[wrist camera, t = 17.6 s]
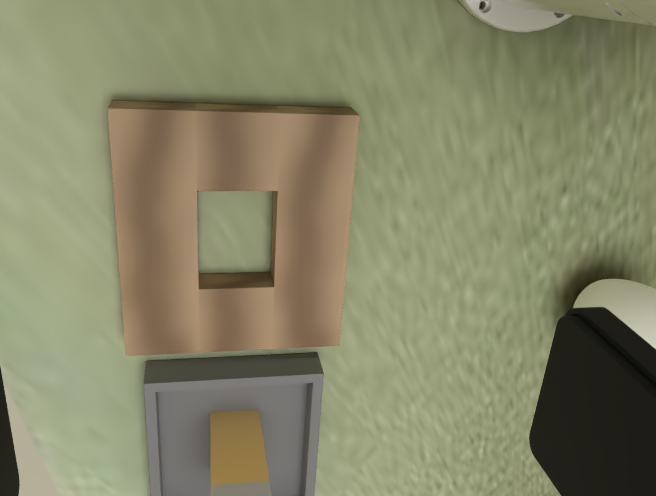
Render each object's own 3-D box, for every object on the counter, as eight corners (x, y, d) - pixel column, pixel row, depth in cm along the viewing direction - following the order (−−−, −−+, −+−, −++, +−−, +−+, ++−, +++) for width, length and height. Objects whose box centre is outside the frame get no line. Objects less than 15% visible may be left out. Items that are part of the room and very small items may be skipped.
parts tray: (317, 352, 52) (323, 373, 49) (306, 494, 58) (312, 520, 55) (146, 360, 49) (143, 384, 46) (155, 509, 55) (153, 537, 52)
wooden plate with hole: (351, 107, 44) (359, 115, 41) (333, 328, 51) (339, 345, 49) (112, 100, 40) (107, 108, 38) (128, 337, 48) (125, 355, 45)
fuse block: (258, 409, 52) (272, 501, 43) (256, 465, 54) (268, 564, 45) (210, 412, 51) (213, 507, 42) (210, 469, 53) (212, 570, 44)
